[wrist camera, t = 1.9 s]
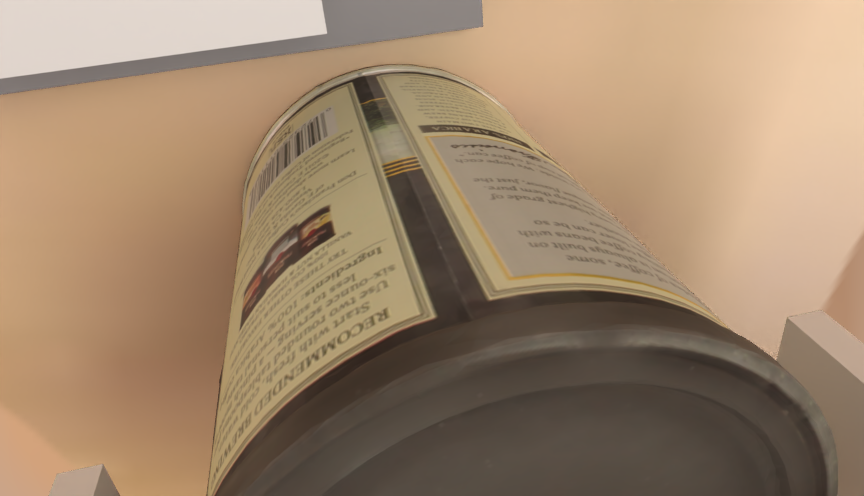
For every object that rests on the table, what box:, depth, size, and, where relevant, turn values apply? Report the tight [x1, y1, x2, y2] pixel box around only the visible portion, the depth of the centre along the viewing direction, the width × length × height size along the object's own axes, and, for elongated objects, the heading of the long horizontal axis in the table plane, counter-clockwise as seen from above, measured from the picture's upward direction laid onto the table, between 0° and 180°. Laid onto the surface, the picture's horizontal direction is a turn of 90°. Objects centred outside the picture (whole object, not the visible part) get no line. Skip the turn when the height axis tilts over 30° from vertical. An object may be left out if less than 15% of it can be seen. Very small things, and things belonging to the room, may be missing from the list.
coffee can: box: [206, 65, 838, 496], centre depth 16 cm, size 10×10×14 cm
